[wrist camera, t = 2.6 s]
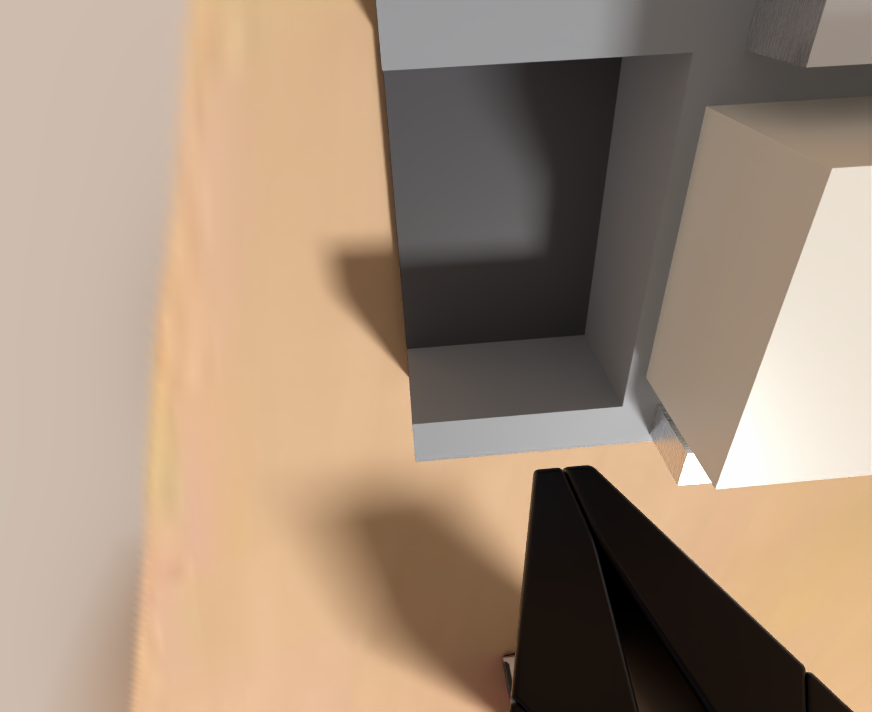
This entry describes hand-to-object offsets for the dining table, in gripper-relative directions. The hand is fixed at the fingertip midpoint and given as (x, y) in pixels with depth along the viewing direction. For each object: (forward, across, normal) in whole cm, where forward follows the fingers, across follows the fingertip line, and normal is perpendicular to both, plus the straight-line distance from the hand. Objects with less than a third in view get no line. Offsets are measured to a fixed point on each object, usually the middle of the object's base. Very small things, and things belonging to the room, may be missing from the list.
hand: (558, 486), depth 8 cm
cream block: (+6, -8, 0) cm, 10 cm away
